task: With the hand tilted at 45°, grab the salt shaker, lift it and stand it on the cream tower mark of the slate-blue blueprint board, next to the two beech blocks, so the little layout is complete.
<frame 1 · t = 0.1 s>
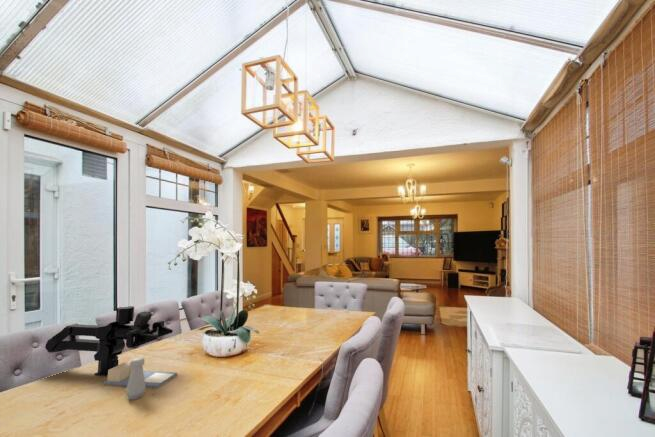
hand: (165, 334, 126), 17 cm above the table, tool horizontal, fingers open, 9 cm apart
salt shaker: (135, 397, 107), on the table
blueprint board: (141, 379, 121), on the table
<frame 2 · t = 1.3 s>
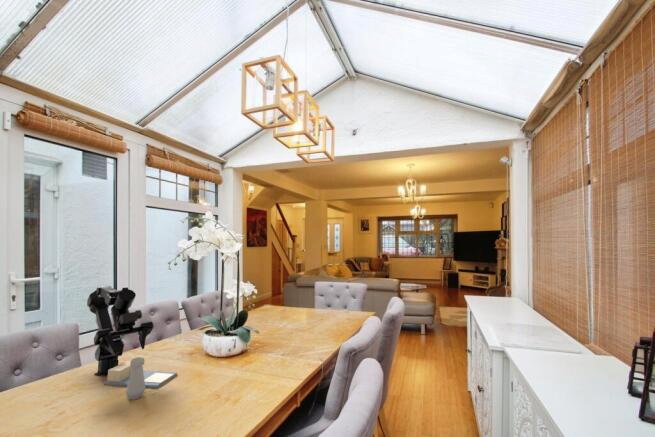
hand: (129, 351, 114), 14 cm above the table, tool tilted 45°, fingers open, 9 cm apart
nothing on the table moved.
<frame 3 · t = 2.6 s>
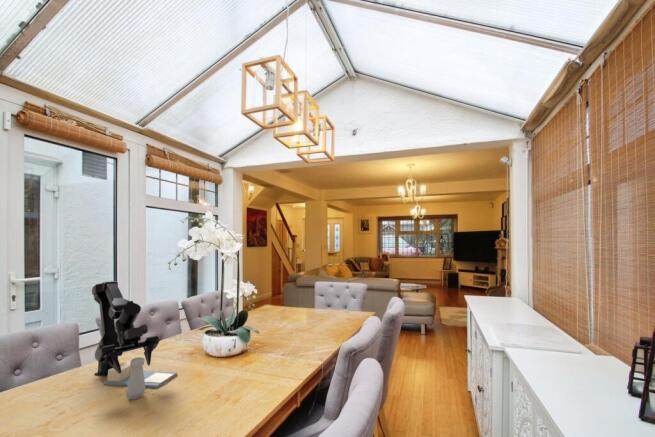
hand: (135, 368, 109), 9 cm above the table, tool tilted 45°, fingers open, 9 cm apart
nothing on the table moved.
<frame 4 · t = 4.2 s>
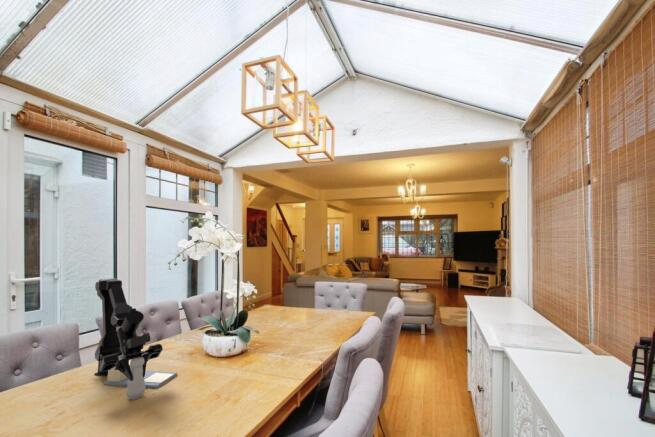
hand: (138, 378, 107), 7 cm above the table, tool tilted 45°, fingers closed on salt shaker, 3 cm apart
salt shaker: (135, 397, 107), on the table, touching gripper
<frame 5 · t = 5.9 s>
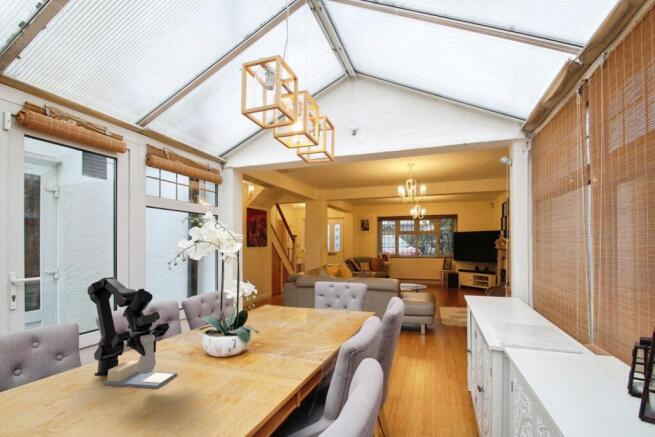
hand: (149, 353, 113), 13 cm above the table, tool tilted 45°, fingers closed on salt shaker, 3 cm apart
salt shaker: (146, 372, 113), point 6 cm above the table, touching gripper
when the fingers open (9 cm above the table, at t = 7.9 s): salt shaker drops 1 cm, resting on blueprint board.
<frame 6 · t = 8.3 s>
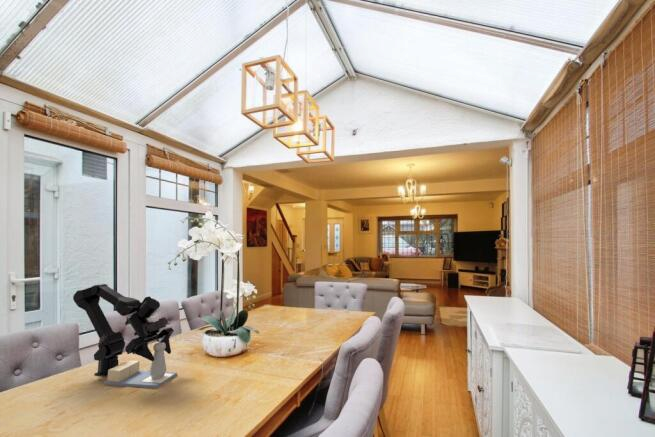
hand: (162, 356, 121), 9 cm above the table, tool tilted 45°, fingers open, 8 cm apart
salt shaker: (157, 377, 121), point 1 cm above the table, touching blueprint board
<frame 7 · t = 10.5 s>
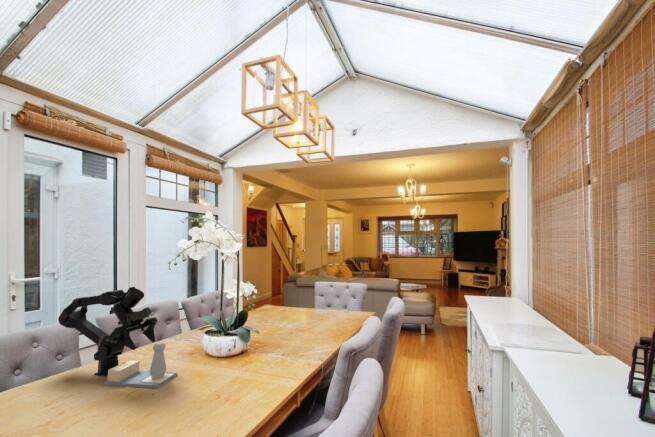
hand: (145, 345, 124), 13 cm above the table, tool tilted 45°, fingers open, 9 cm apart
nothing on the table moved.
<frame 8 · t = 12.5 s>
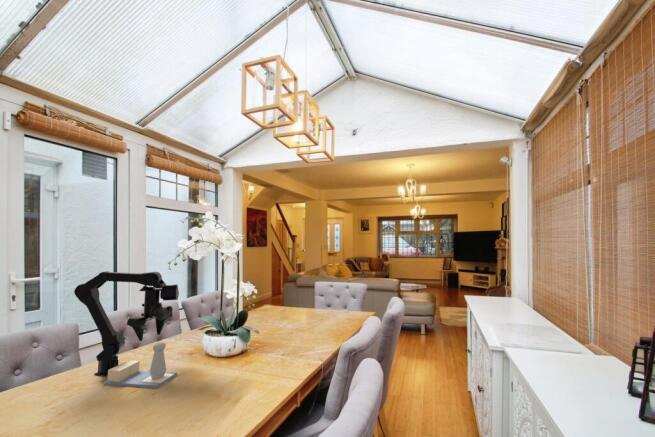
hand: (150, 337, 133), 13 cm above the table, tool pointing down, fingers open, 9 cm apart
nothing on the table moved.
at the end: salt shaker 0.2 cm from the target spot, point 1.0 cm above the table; salt shaker tilted 0°; the gripper is holding nothing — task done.
